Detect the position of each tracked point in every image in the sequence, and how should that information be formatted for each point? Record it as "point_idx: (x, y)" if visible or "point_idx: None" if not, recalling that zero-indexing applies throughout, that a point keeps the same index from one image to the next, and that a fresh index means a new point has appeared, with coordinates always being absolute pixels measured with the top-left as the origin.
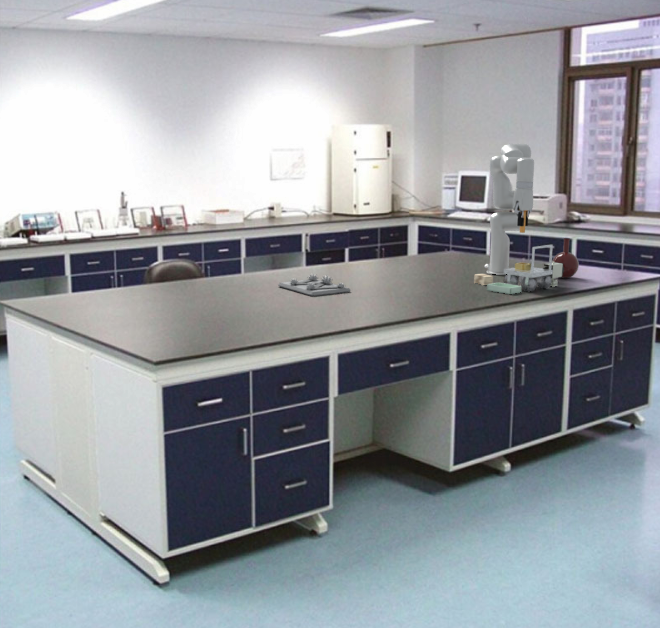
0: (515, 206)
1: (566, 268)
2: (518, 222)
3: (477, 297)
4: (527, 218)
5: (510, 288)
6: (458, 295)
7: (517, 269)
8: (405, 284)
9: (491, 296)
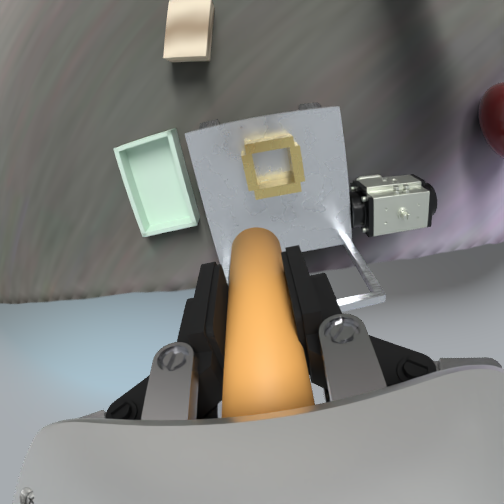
0: (78, 493)
1: (493, 146)
2: (188, 312)
3: (56, 220)
4: (309, 371)
5: (143, 235)
6: (29, 179)
7: (236, 166)
8: (12, 4)
9: (90, 224)
